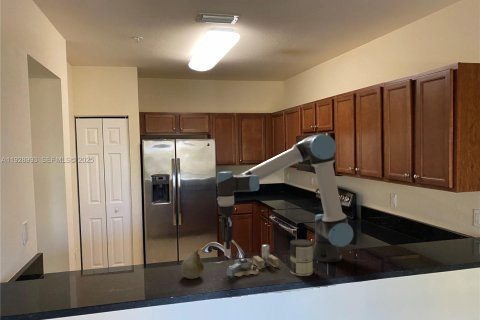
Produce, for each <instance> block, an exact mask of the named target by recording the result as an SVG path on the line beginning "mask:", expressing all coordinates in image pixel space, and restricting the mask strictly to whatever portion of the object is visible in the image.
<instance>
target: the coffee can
mask: <svg viewBox="0 0 480 320" xmlns="http://www.w3.org/2000/svg"><path fill="white" fill-rule="evenodd" d="M289 244H290V270H289V272H290V273H291V274H292V275H294V276H298V277H307V276H311V275H312V274H313V273H314V270H313V267H314V265H313V264H314V263H313V260H314V259H313V248H314V242H313V241H311V240H309V239H305V238H304V239H302V238H301V239H300V238H299V239H292V240H290V243H289Z"/></svg>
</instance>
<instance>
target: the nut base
mask: <svg viewBox="0 0 480 320" xmlns="http://www.w3.org/2000/svg"><path fill="white" fill-rule="evenodd" d="M233 265H234V264H233ZM233 265H228V267H227V268H229V267H231V266H233ZM258 273H260V271H259V269H258V268H257V267H256V266H254V265H252V268H251V269H250V270H241V271H239V272H237V273H236V274H234V276H238V277H243V276H242V275H246V276H250V275H249V274H254V275H259V274H258Z"/></svg>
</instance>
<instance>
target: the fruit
mask: <svg viewBox="0 0 480 320" xmlns="http://www.w3.org/2000/svg"><path fill="white" fill-rule="evenodd" d="M198 252H199V249H196V251H194V250H193V251H191V252H190V253H189V254H188V255H187V256H186V258H185V259H184V260H183V261H182V263H181V266H180V272H181V275H182V276H183V277H184V278H186V279H190V280H193V279H198V278H200V276H201V275H202V274H203V272H204V269H205V265H204V262H203V261H202V259H201V256H200V254H199V253H198Z"/></svg>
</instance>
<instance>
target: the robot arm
mask: <svg viewBox="0 0 480 320" xmlns="http://www.w3.org/2000/svg"><path fill="white" fill-rule="evenodd" d="M336 152H337V145H336V141H335V140H334V139H333V138H332V137H331V136H330V135H329V134H324V133H319V134H314V135H309V136H307V137H306V138H303V139H302V140H301V141H299V142H297V143H295V144H293V145H292V147H291V148H289V149H288V150H286V151H284V152H282V153H280V154H278V155H276V156H274V157H272V158H270V159H268V160H266V161H263V162H262V163H260V164H257V165H256V166H254V167H252V168H250V169H248V170H246V171H244V172H240V173H238V174H237V175H234V172H233V171H219V172H217V176H216V177H217V180H216V184H217V187H216V189H217V198H216V201H217V205H218V206H217V210H218V211H217V213H218V214H219V215H221V217H220V229H221V238H222V239H223V249H224V250H223V252H224V253H223V254H224V256H225V257H230V256H232V252H231V251H232V250H231V242H233V231H234V230H233V227H234V221H233V220H232V219H233V218H232V214H235V205H234V204H235V193H237V192H238V193H239V192H256V191H259V189H260V181H263V180H265V179H267V178H268V177H270V176H273V175H274V174H276V173H279V172H281V171H282V170H285V169H286V168H288V167H291V166H293V165H294V164H296V163H302V162H305V161H308V160H309V161H310V165H311V166H312V167H314V170H315V176H316V180H317V185H318V192H319V195H320V200H321V204H322V210H323V213H318V214H316V215H315V217H314V219H315V220H314V222H315V223H314V244H313V260H314V261H318V262H323V263H336V262H340V261H341V260H342V259H343V258H342V253H341V249H340V248H342V247H346V246H348V245H349V244H350V243H351V242H352V240H353V238H354V230H353V227H352V226H351V225H350V224H349V221H348V218H347V215H346V214H345V213H344V212H343V209H342V205H341V200H340V199H341V198H340V194H339V190H338V185H337V180H336V174H335V169H334V168H335V167H334V163H335V161H336V159H335V158H336V157H335V153H336Z"/></svg>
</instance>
